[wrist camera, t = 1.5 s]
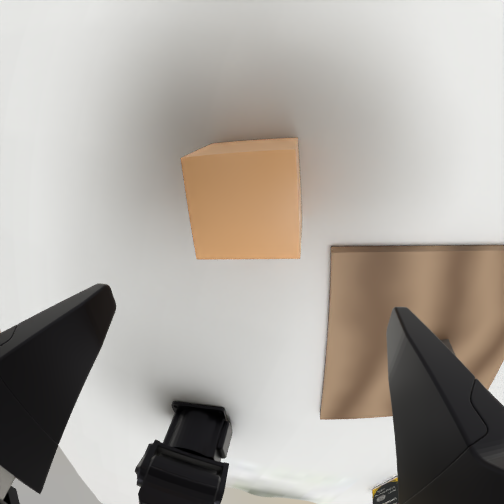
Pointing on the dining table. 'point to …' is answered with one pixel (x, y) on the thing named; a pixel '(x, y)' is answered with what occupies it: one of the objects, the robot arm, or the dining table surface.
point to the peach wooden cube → (245, 199)
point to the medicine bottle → (386, 492)
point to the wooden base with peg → (420, 303)
